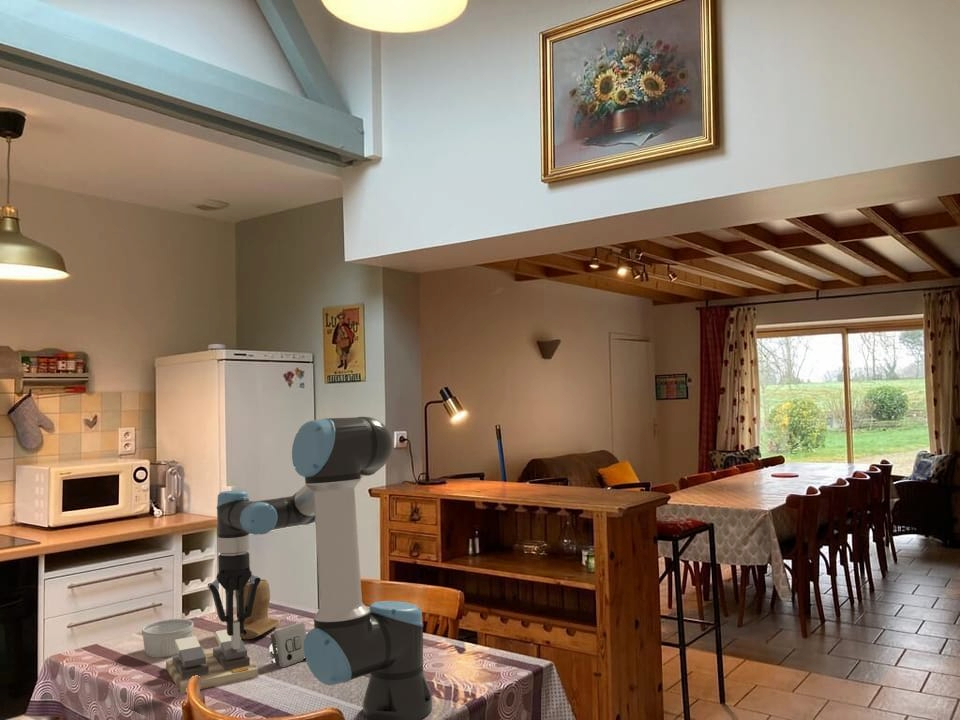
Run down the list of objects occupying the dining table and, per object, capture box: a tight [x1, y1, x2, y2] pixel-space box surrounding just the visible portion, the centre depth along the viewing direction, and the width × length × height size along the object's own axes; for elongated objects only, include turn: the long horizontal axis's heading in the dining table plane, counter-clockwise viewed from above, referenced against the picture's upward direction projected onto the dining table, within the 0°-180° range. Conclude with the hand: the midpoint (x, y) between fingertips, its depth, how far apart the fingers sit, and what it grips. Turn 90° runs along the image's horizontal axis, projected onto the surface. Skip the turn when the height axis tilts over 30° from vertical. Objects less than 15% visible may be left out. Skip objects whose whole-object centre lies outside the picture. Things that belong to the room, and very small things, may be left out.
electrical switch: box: [269, 622, 307, 668], centre depth 204 cm, size 9×5×9 cm, turn 141°
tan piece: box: [234, 578, 281, 640], centre depth 229 cm, size 15×12×15 cm
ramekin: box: [141, 618, 195, 658], centre depth 214 cm, size 13×13×7 cm
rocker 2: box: [214, 628, 248, 660], centre depth 200 cm, size 12×5×2 cm, turn 32°
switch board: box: [165, 646, 259, 694], centre depth 197 cm, size 20×18×4 cm
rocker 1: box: [175, 635, 206, 668], centre depth 194 cm, size 12×5×2 cm, turn 32°
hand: (235, 647), depth 195 cm, fingers closed
